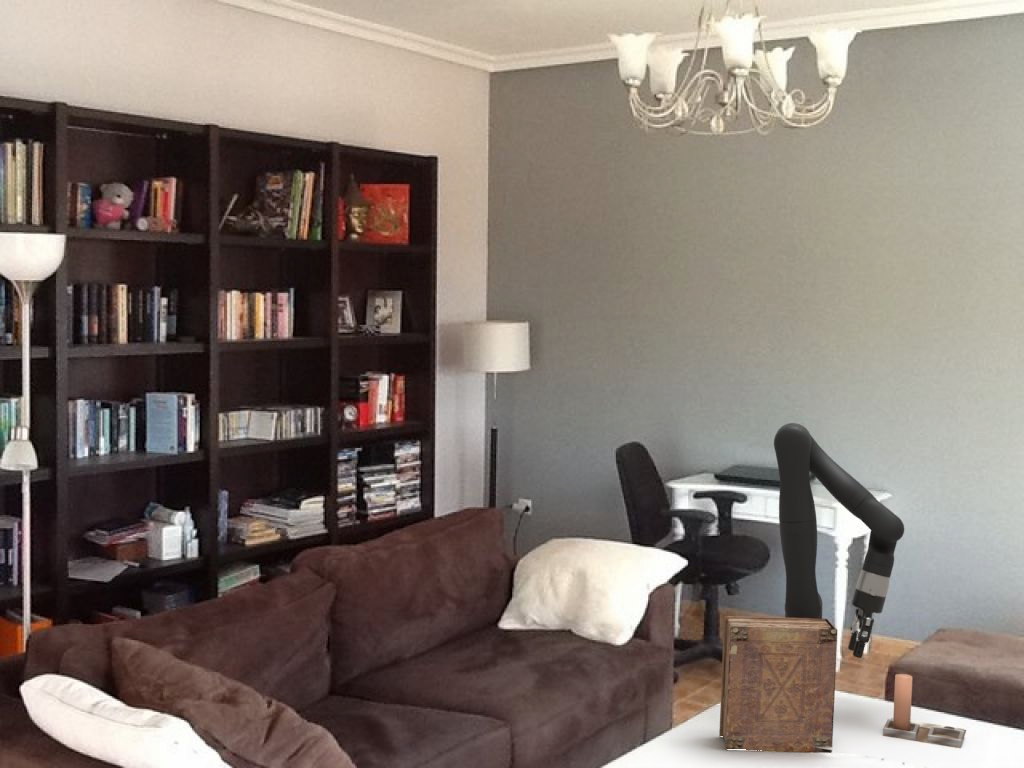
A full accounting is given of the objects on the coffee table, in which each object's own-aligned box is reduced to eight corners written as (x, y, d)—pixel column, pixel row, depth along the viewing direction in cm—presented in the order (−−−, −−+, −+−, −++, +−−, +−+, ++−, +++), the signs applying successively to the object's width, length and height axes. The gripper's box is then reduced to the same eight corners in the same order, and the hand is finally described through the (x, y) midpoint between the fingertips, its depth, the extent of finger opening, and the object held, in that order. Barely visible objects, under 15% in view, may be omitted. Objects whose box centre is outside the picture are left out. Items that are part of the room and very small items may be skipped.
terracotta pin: (891, 733, 310) (894, 677, 309) (894, 728, 313) (896, 673, 312) (908, 736, 308) (911, 679, 307) (910, 731, 312) (913, 675, 311)
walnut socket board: (882, 741, 308) (882, 729, 308) (890, 724, 321) (891, 712, 321) (960, 754, 301) (960, 741, 301) (966, 735, 314) (966, 723, 313)
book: (724, 750, 300) (729, 626, 298) (719, 736, 310) (723, 615, 307) (832, 753, 300) (837, 628, 298) (823, 739, 309) (828, 618, 307)
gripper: (852, 583, 325) (836, 644, 325) (860, 591, 311) (843, 654, 311) (881, 591, 324) (865, 652, 324) (891, 599, 310) (873, 663, 310)
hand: (854, 653), depth 317 cm, fingers open, 8 cm apart
